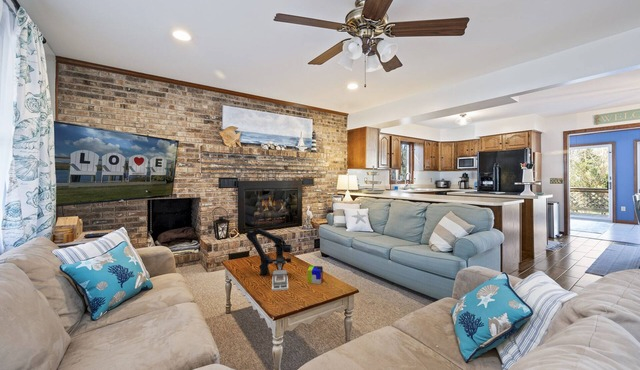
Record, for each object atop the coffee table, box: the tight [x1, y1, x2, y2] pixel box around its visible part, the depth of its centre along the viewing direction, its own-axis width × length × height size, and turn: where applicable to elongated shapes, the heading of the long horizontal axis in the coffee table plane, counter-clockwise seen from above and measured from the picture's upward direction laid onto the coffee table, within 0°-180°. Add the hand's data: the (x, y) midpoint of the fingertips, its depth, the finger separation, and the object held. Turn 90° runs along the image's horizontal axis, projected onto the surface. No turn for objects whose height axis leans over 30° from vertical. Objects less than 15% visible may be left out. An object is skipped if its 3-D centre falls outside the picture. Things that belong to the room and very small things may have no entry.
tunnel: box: [272, 269, 288, 286], centre depth 202 cm, size 7×10×8 cm
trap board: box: [271, 275, 289, 292], centre depth 206 cm, size 24×12×2 cm, turn 9°
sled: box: [276, 264, 284, 280], centre depth 215 cm, size 16×6×8 cm, turn 9°
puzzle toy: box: [307, 265, 324, 285], centre depth 210 cm, size 10×10×10 cm
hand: (279, 270), depth 222 cm, fingers closed on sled, 2 cm apart
